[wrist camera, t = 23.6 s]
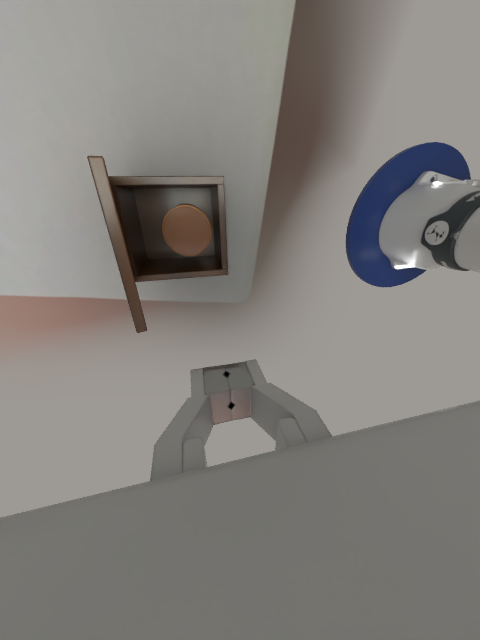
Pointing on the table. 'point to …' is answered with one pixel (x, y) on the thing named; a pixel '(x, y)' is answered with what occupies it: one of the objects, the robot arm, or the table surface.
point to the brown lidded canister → (186, 230)
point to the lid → (117, 238)
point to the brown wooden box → (147, 218)
